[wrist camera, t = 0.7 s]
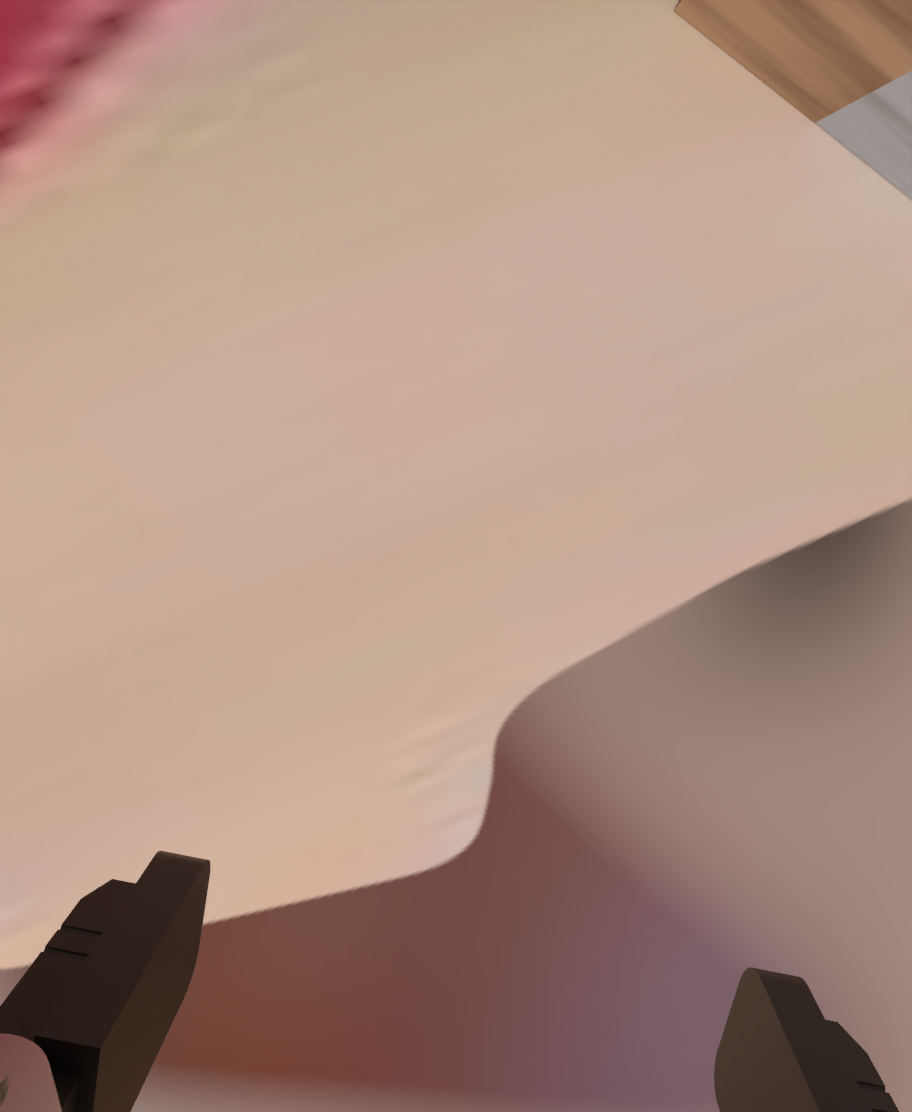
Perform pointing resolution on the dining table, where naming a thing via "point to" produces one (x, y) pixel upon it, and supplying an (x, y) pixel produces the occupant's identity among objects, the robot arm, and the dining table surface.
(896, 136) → the stepped stand
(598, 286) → the dining table surface
